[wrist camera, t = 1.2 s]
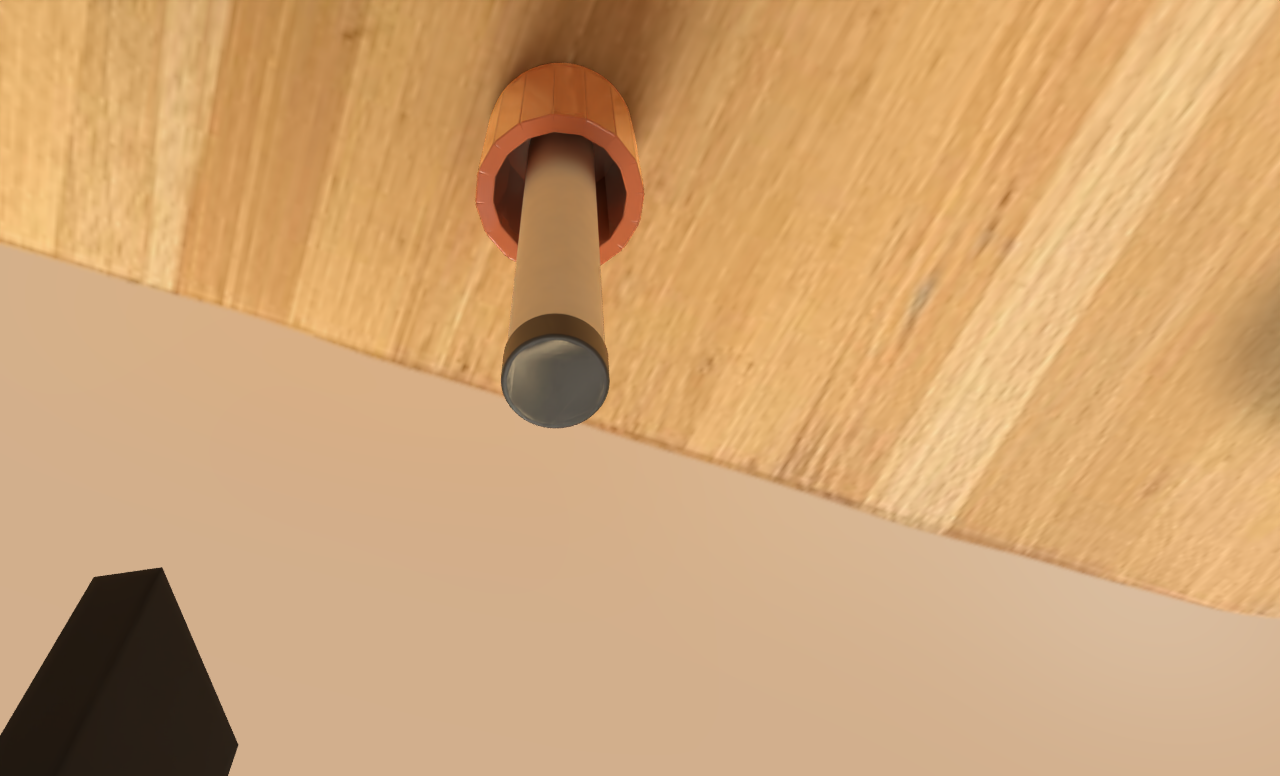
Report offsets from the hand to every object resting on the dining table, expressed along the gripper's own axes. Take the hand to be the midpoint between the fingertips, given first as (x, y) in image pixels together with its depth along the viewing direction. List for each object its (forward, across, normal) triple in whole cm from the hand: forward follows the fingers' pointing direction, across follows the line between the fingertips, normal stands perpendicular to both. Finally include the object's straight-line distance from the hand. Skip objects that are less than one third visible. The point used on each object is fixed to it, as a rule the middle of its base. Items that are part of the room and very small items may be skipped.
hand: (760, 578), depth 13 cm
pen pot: (+26, -3, -2) cm, 26 cm away
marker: (+25, -3, -2) cm, 25 cm away
